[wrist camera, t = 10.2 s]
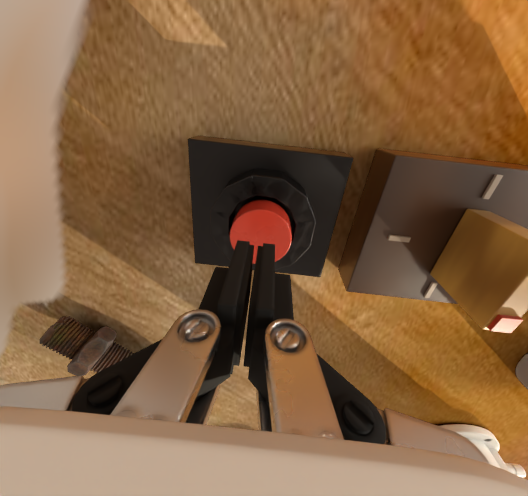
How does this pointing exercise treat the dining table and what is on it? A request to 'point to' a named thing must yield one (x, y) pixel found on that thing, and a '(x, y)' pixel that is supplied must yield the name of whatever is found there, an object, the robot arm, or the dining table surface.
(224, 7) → the dining table surface
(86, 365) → the bolt
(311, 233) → the button box
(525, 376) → the coffee mug
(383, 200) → the plate
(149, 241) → the dining table surface
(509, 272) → the gold slab
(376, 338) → the dining table surface
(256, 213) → the red button
